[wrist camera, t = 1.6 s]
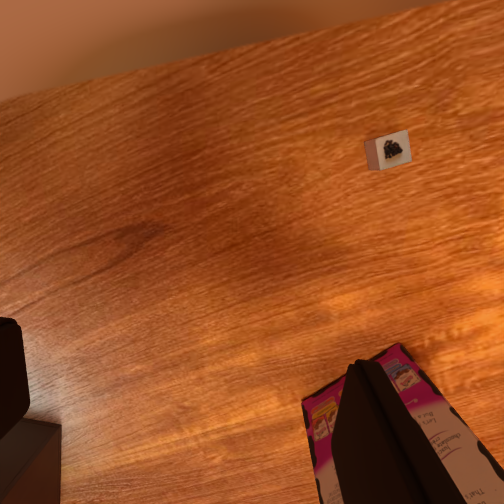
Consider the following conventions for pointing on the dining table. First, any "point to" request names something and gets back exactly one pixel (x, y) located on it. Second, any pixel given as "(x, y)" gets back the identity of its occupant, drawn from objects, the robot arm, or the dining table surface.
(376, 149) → the cube with dark pebbles
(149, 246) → the dining table surface
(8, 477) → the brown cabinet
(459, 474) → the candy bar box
